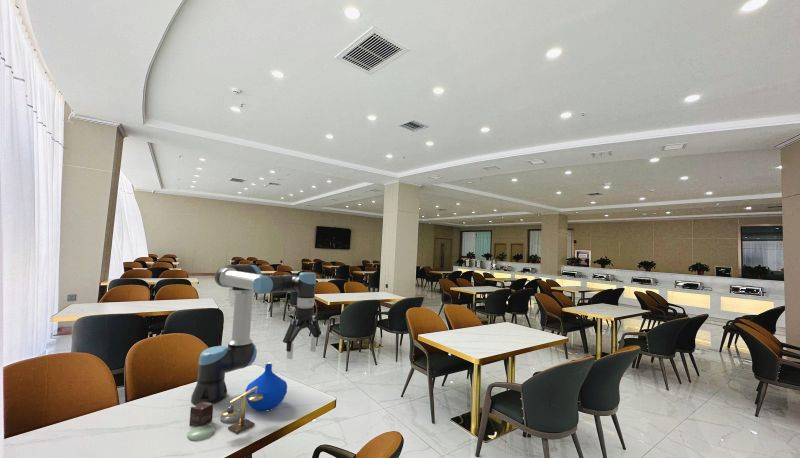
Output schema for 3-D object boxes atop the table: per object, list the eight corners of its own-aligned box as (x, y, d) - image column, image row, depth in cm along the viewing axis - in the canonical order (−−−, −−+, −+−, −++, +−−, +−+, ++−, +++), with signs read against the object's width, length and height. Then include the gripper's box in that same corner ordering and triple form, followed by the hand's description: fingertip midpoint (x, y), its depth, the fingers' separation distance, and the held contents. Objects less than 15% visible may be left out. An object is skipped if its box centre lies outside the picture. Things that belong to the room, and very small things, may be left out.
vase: (234, 410, 146) (238, 367, 147) (264, 395, 163) (267, 356, 164) (266, 419, 139) (270, 374, 141) (294, 402, 156) (297, 362, 158)
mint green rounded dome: (182, 435, 125) (182, 432, 125) (206, 425, 133) (206, 422, 133) (194, 443, 120) (194, 440, 120) (218, 432, 128) (218, 430, 128)
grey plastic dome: (216, 419, 138) (216, 416, 138) (236, 410, 146) (236, 408, 146) (227, 425, 133) (228, 423, 133) (248, 417, 141) (248, 414, 141)
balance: (216, 434, 127) (220, 395, 128) (255, 417, 141) (258, 382, 142) (225, 439, 124) (228, 400, 125) (264, 421, 138) (266, 386, 139)
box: (212, 421, 136) (214, 403, 137) (199, 428, 130) (201, 409, 131) (201, 418, 138) (203, 400, 139) (188, 425, 132) (190, 406, 133)
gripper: (288, 311, 133) (284, 364, 131) (330, 305, 154) (327, 350, 153) (276, 309, 137) (272, 360, 135) (319, 303, 158) (316, 347, 156)
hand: (301, 355), depth 144 cm, fingers open, 13 cm apart
